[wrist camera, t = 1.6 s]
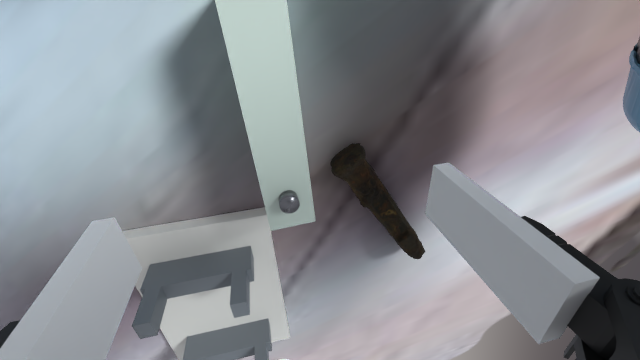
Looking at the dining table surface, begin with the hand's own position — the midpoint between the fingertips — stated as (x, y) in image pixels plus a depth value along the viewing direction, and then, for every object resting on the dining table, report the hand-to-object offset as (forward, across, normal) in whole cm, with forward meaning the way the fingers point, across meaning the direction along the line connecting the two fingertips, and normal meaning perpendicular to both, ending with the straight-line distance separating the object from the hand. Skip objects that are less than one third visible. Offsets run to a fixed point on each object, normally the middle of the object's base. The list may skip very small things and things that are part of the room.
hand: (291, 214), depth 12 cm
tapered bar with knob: (+18, 0, 0) cm, 18 cm away
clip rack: (+18, -10, -24) cm, 31 cm away
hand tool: (+18, +12, -14) cm, 26 cm away
